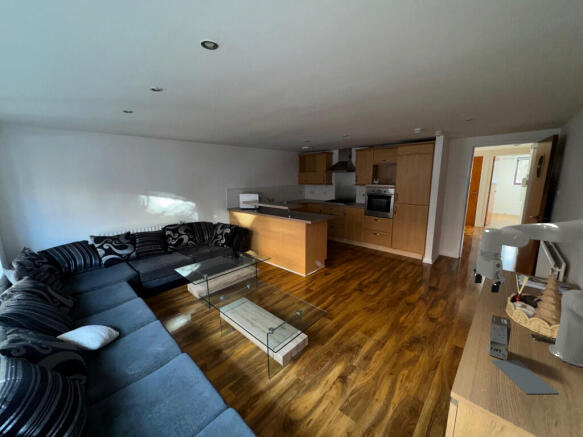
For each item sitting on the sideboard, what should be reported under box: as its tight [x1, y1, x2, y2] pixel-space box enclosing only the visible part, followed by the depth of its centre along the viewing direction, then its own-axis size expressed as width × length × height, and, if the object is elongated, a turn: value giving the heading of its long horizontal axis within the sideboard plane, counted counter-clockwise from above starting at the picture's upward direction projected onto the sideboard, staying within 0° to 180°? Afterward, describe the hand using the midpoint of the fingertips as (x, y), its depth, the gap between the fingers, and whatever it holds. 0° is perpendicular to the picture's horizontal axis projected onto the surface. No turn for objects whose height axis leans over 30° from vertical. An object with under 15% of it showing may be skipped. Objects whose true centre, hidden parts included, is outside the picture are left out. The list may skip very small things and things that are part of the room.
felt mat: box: [490, 359, 559, 395], centre depth 95 cm, size 12×16×1 cm
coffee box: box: [488, 314, 512, 360], centre depth 107 cm, size 9×6×16 cm
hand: (485, 287), depth 112 cm, fingers open, 9 cm apart
